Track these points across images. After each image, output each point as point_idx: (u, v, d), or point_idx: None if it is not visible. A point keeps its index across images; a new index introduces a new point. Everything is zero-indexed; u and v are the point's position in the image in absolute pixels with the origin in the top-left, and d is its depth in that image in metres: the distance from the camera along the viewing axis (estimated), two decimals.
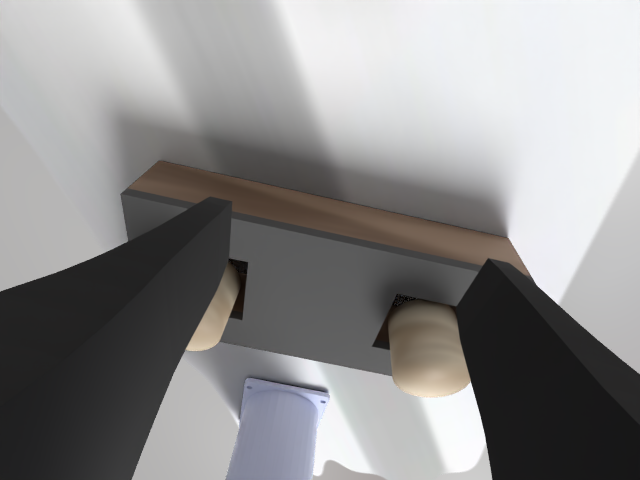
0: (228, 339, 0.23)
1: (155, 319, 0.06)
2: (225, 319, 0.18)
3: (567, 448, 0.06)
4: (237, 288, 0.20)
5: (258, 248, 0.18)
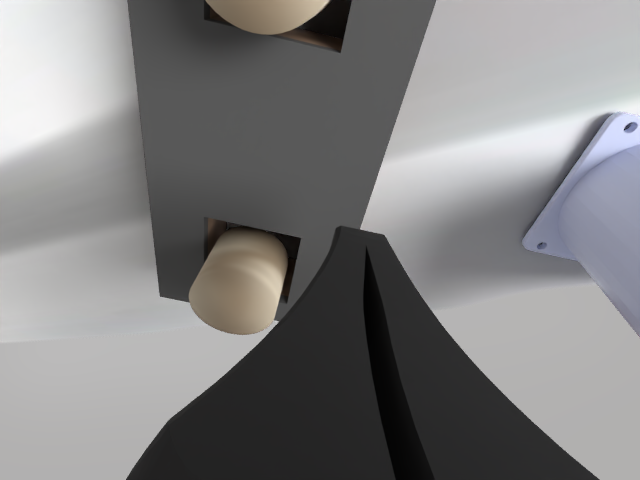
0: None
1: None
2: (232, 263, 0.15)
3: None
4: (244, 234, 0.17)
5: (181, 203, 0.16)
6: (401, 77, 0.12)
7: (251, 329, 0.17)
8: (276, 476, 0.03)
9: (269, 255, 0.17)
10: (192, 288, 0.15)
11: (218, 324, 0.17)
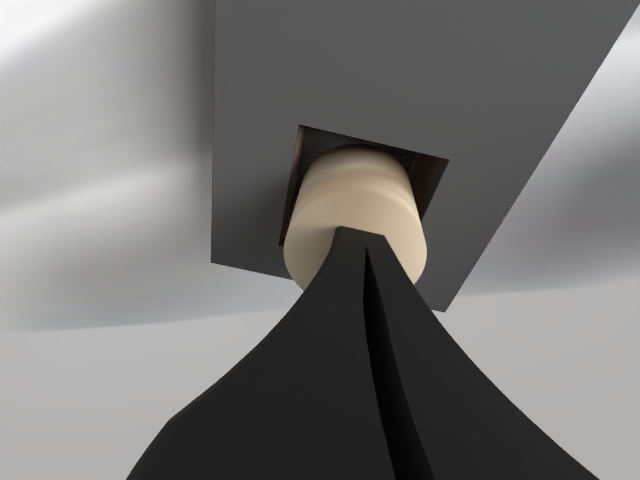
0: (503, 196, 0.11)
1: None
2: (362, 183, 0.09)
3: None
4: (359, 151, 0.11)
5: (264, 100, 0.10)
6: None
7: None
8: (276, 476, 0.03)
9: (403, 182, 0.11)
10: (294, 227, 0.09)
11: None
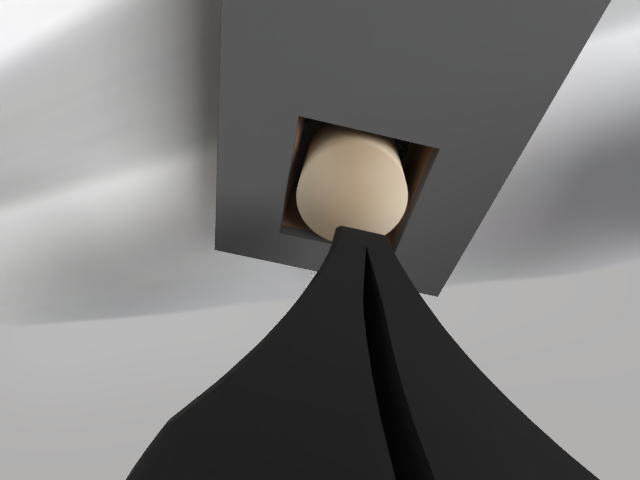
0: (490, 183, 0.12)
1: None
2: (357, 139, 0.12)
3: None
4: None
5: (267, 93, 0.11)
6: None
7: None
8: (276, 476, 0.03)
9: (390, 142, 0.13)
10: (305, 173, 0.12)
11: (325, 230, 0.13)
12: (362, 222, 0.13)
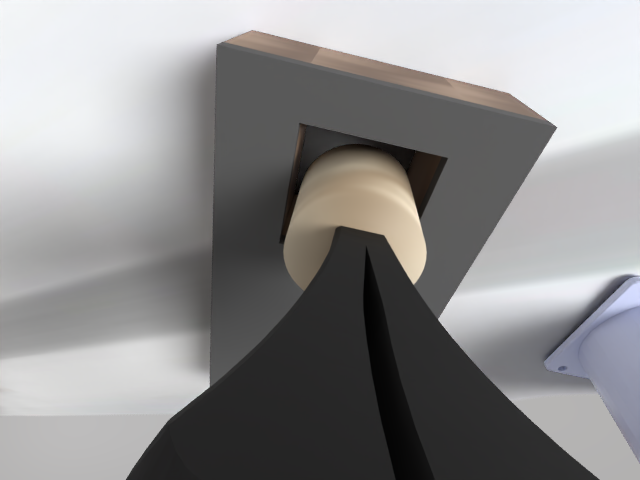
0: None
1: None
2: None
3: None
4: None
5: (239, 354, 0.18)
6: (450, 286, 0.14)
7: None
8: (276, 477, 0.03)
9: None
10: None
11: None
12: None
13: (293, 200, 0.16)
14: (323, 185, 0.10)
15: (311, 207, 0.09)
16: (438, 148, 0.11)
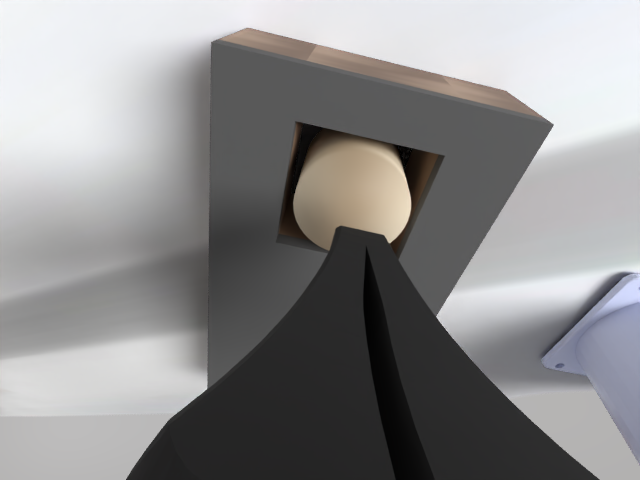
0: None
1: None
2: None
3: None
4: None
5: (236, 353, 0.18)
6: (447, 284, 0.14)
7: None
8: (276, 475, 0.03)
9: None
10: None
11: None
12: None
13: (290, 199, 0.16)
14: (326, 147, 0.12)
15: (316, 163, 0.11)
16: (435, 146, 0.11)
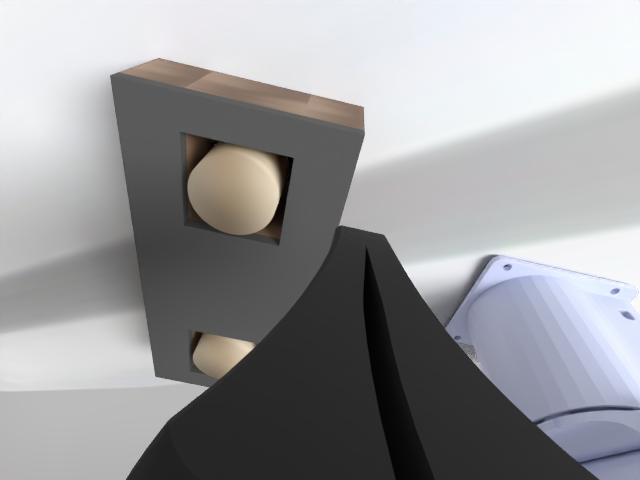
0: None
1: None
2: (222, 336, 0.23)
3: None
4: None
5: (170, 321, 0.22)
6: (322, 260, 0.18)
7: None
8: (276, 476, 0.03)
9: None
10: (195, 352, 0.23)
11: (212, 374, 0.24)
12: None
13: None
14: (211, 151, 0.15)
15: (199, 163, 0.15)
16: (284, 150, 0.14)
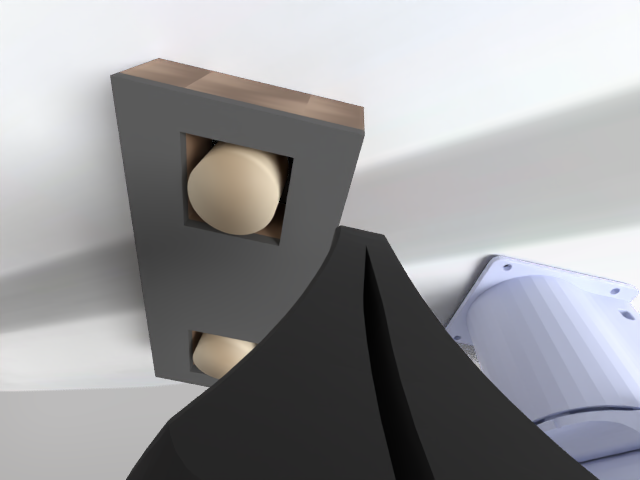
0: None
1: None
2: (222, 336, 0.23)
3: None
4: None
5: (170, 321, 0.22)
6: (322, 260, 0.18)
7: None
8: (276, 476, 0.03)
9: None
10: (195, 352, 0.23)
11: (212, 374, 0.24)
12: None
13: None
14: (211, 151, 0.15)
15: (199, 163, 0.15)
16: (284, 150, 0.14)
